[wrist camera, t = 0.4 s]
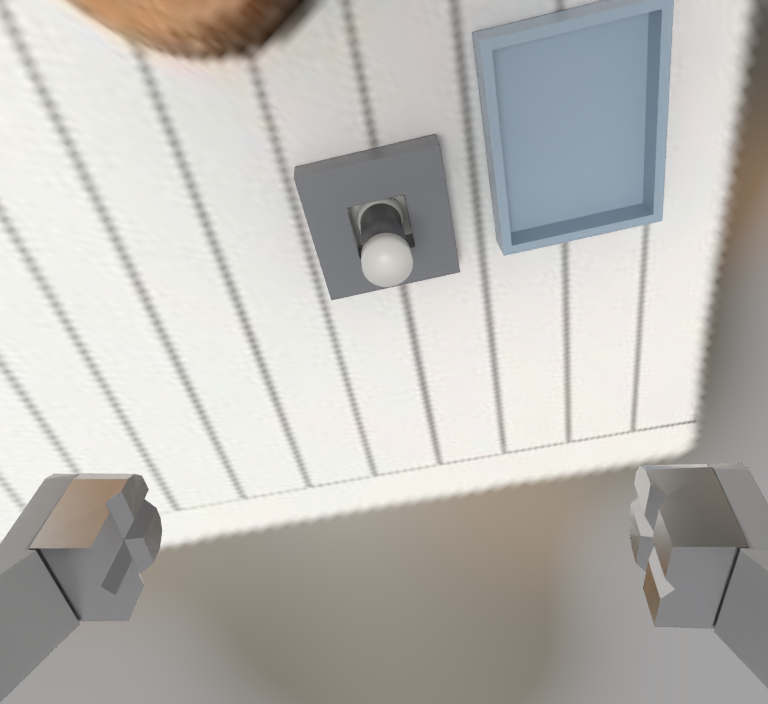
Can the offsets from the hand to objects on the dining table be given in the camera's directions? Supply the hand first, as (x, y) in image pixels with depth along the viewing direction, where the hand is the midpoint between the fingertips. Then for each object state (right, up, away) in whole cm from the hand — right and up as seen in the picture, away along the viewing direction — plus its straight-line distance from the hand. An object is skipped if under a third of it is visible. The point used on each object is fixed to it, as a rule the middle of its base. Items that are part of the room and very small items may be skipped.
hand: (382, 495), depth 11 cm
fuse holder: (0, +14, +48) cm, 50 cm away
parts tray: (+15, +21, +44) cm, 51 cm away
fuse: (0, +14, +48) cm, 50 cm away
